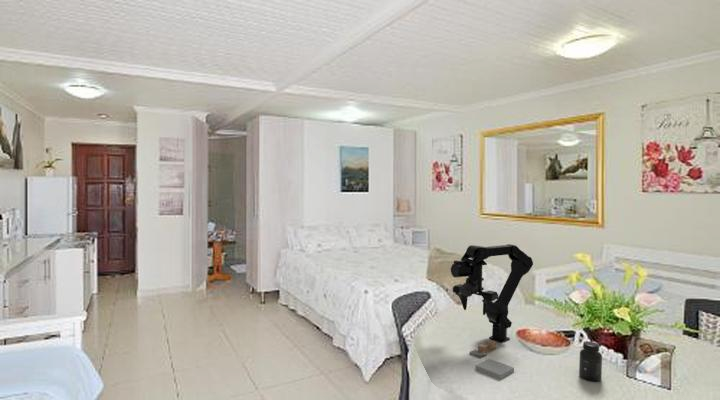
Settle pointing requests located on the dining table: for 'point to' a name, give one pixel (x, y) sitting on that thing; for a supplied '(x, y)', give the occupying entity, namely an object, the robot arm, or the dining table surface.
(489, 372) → the tile
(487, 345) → the brown wooden slab
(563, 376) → the dining table surface
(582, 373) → the supplement bottle
